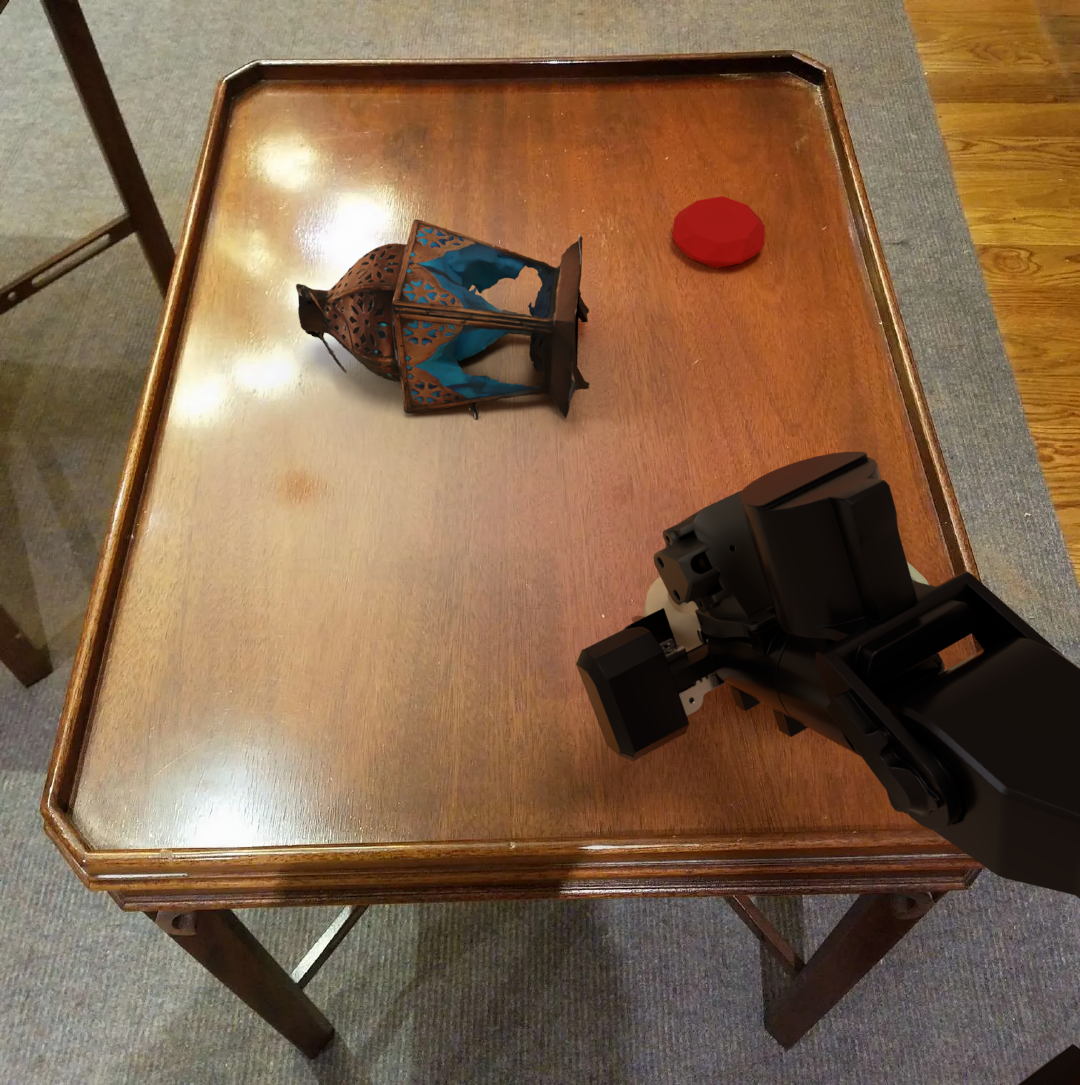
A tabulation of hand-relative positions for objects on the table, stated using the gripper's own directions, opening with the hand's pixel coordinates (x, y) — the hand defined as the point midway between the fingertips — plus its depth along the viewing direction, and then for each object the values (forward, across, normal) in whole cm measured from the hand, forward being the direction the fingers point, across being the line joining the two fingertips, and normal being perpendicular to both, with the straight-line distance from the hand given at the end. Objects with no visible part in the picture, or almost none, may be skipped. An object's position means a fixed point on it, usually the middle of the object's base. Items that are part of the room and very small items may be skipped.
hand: (675, 604), depth 58 cm
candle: (+4, 0, +6) cm, 7 cm away
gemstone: (+33, -30, -19) cm, 49 cm away
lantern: (+32, 0, -17) cm, 36 cm away
